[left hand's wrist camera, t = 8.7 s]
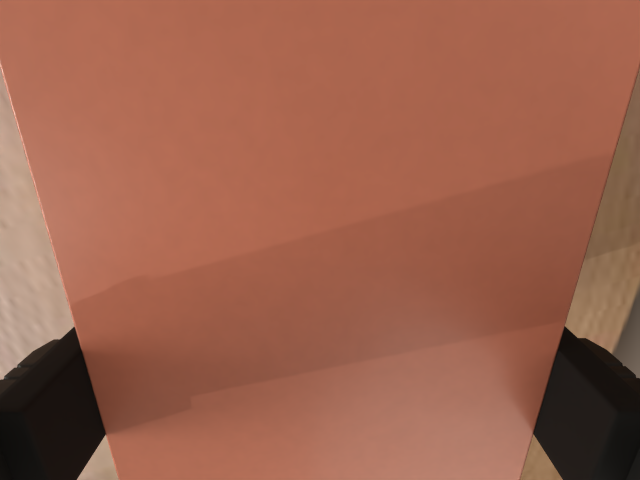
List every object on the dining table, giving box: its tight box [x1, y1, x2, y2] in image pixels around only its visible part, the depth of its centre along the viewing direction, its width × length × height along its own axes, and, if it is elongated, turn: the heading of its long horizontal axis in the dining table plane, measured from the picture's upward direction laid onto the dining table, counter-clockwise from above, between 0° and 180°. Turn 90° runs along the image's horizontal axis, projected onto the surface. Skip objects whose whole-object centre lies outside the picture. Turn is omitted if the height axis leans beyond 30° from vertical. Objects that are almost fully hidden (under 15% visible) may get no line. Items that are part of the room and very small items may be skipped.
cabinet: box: [0, 0, 640, 480], centre depth 11 cm, size 17×11×9 cm, turn 0°
